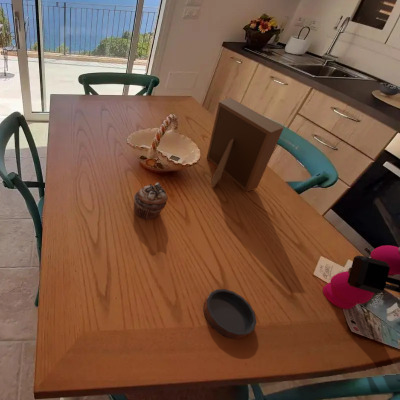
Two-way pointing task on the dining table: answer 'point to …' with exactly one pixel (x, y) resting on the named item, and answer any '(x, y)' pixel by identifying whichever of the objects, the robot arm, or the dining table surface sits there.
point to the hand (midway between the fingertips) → (374, 277)
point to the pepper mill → (351, 296)
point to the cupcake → (150, 201)
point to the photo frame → (241, 144)
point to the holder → (229, 314)
